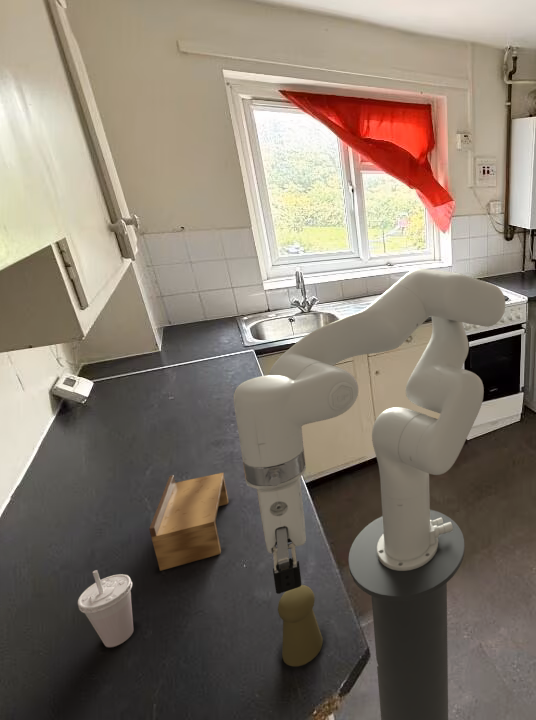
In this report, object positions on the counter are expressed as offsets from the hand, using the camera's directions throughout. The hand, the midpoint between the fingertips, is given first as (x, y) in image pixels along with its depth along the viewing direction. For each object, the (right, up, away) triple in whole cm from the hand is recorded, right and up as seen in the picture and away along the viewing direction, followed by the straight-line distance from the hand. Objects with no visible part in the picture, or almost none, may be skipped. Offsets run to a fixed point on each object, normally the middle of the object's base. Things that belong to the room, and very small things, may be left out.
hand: (288, 563), depth 63 cm
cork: (0, -17, +5) cm, 18 cm away
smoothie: (-31, -16, +6) cm, 35 cm away
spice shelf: (-34, -9, +29) cm, 45 cm away
